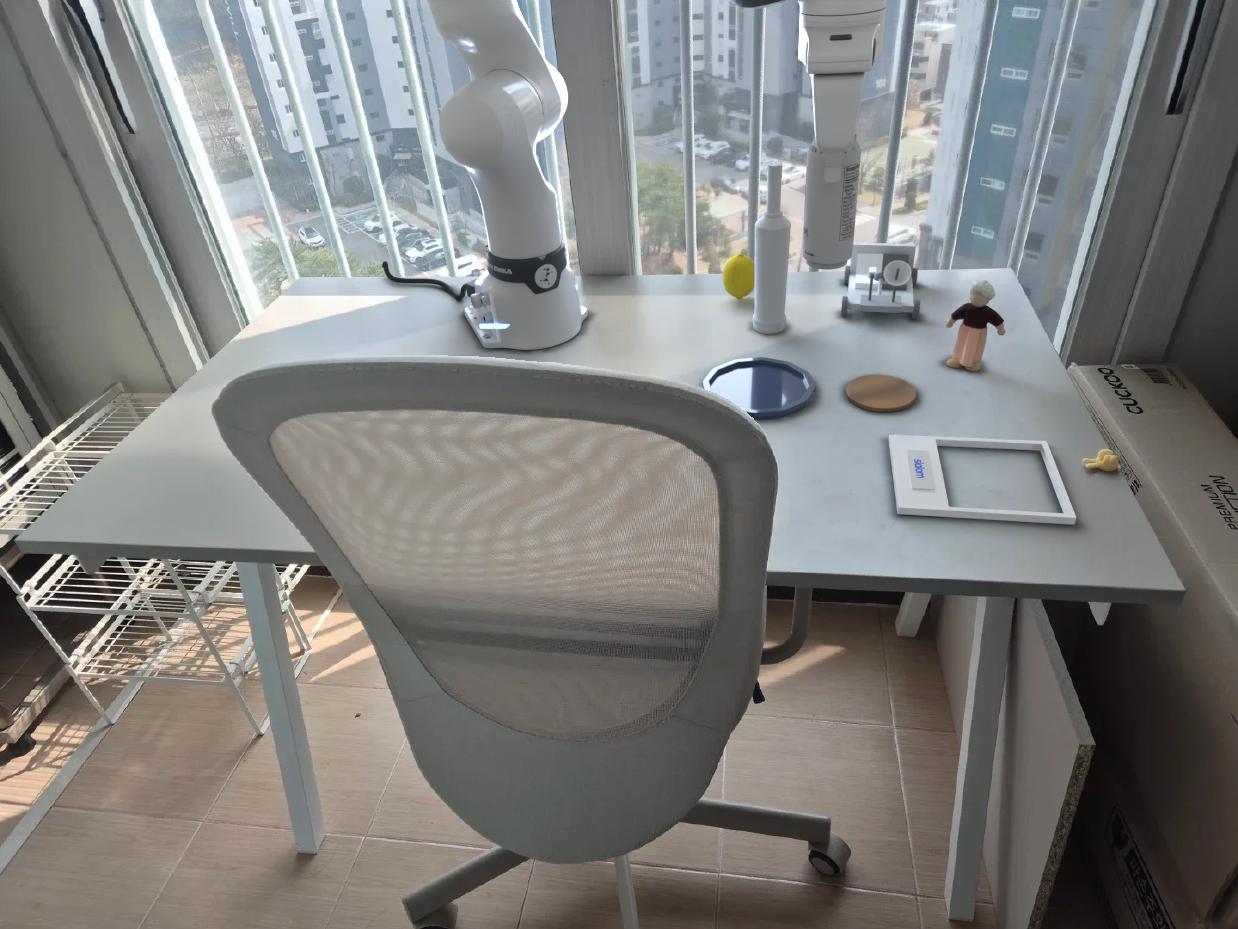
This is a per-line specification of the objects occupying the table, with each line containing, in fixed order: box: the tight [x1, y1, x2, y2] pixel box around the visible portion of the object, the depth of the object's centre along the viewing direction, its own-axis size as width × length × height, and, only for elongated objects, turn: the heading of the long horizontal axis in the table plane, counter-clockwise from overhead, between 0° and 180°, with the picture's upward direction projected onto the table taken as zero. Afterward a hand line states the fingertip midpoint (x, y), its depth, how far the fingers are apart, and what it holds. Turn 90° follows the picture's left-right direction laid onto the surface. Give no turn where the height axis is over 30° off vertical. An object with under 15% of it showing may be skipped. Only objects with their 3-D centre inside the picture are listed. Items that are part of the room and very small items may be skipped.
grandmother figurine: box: [944, 279, 1007, 372], centre depth 116 cm, size 8×4×13 cm, turn 70°
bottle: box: [752, 161, 792, 335], centre depth 126 cm, size 5×5×25 cm
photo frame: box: [888, 434, 1077, 526], centre depth 98 cm, size 15×1×18 cm
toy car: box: [840, 241, 921, 320], centre depth 135 cm, size 18×10×12 cm
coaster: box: [845, 374, 917, 413], centre depth 115 cm, size 9×9×1 cm
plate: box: [701, 356, 816, 421], centre depth 117 cm, size 15×15×1 cm
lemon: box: [722, 252, 755, 301], centre depth 140 cm, size 6×6×8 cm
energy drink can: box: [801, 133, 862, 271], centre depth 101 cm, size 6×6×15 cm
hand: (832, 171), depth 99 cm, fingers closed on energy drink can, 6 cm apart
